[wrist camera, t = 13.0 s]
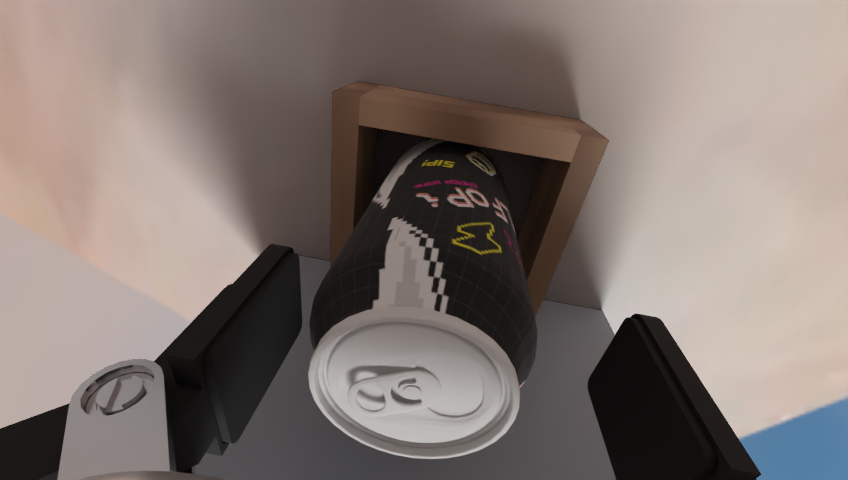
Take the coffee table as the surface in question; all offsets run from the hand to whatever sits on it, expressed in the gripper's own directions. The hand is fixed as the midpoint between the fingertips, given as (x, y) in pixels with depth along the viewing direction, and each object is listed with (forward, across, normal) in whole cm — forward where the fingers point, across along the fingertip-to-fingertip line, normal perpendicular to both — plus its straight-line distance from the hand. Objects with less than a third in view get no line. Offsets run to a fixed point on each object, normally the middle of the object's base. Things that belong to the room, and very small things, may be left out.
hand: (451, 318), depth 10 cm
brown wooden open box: (+9, 0, 0) cm, 9 cm away
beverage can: (+9, +1, 0) cm, 9 cm away
